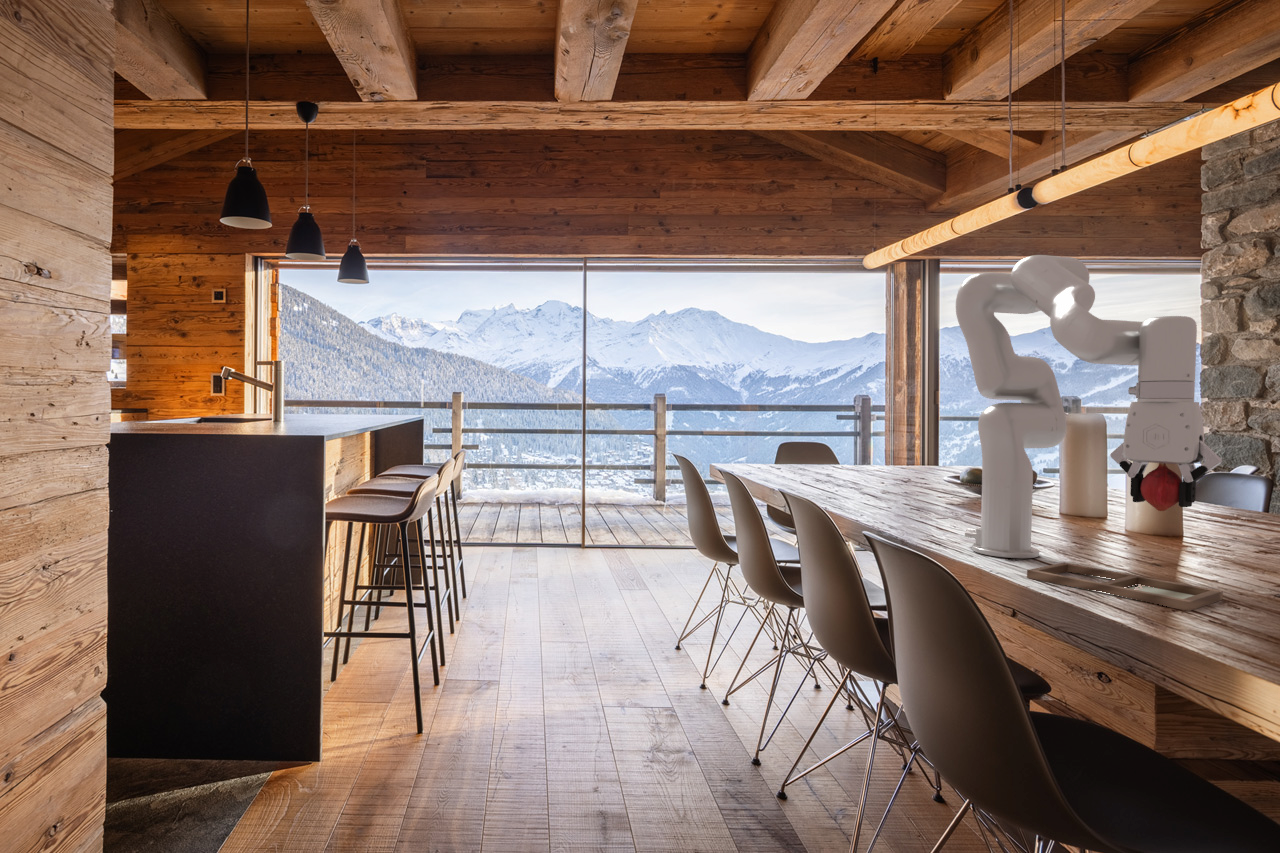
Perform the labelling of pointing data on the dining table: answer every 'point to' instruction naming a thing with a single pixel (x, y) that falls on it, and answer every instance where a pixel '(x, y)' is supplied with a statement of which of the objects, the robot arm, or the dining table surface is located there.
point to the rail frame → (1165, 595)
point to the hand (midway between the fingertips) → (1161, 503)
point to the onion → (1161, 487)
